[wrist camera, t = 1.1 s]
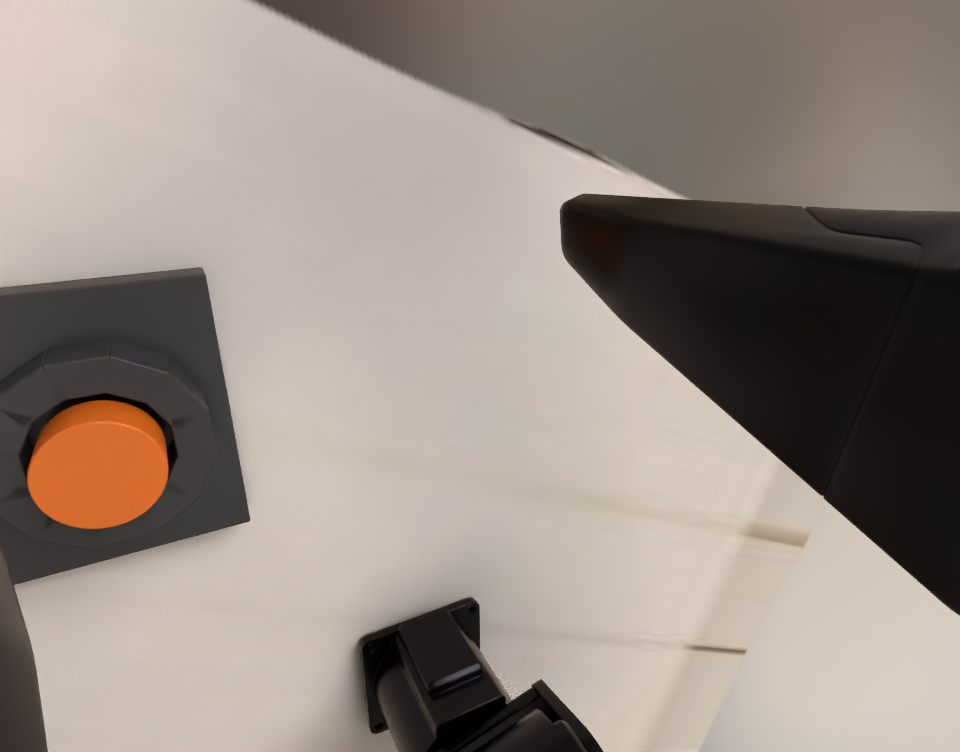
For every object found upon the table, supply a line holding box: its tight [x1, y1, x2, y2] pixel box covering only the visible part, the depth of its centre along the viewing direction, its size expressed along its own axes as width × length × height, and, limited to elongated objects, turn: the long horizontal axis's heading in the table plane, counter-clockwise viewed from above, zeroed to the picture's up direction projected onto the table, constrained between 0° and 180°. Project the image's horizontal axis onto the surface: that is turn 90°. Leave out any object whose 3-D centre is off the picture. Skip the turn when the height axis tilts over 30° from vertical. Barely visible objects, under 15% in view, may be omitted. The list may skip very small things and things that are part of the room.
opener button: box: [27, 400, 168, 529], centre depth 19 cm, size 4×4×2 cm
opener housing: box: [0, 268, 250, 585], centre depth 21 cm, size 10×8×3 cm
